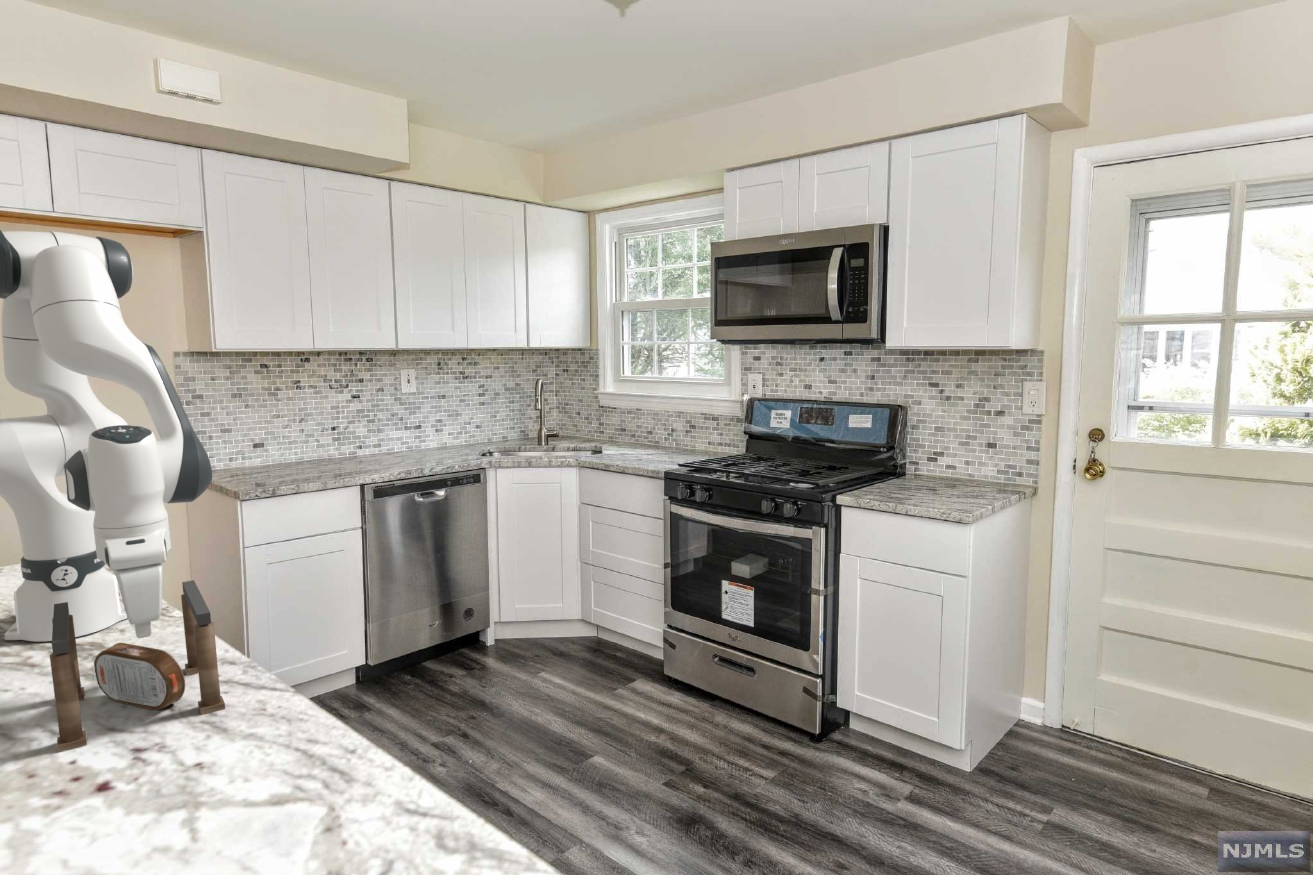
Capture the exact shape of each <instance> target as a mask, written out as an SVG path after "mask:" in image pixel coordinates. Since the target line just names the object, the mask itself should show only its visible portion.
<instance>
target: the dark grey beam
mask: <svg viewBox="0 0 1313 875" xmlns="http://www.w3.org/2000/svg"><path fill="white" fill-rule="evenodd" d="M181 583H182V584H181V585H182V592H183V593H182V594H184V595H185V597H186V600H187V602H188V604H189V606H190V609H191V611H192V613H193V616H194V618H195V620H196V622H197V625H198V626H200V625H205V624H210V623H211V622H212V618H211V617H212V616H211V611H210V609H209V608H208V605H207V603H206V601H205V599H204V597H203V594H202V593H201V591H200V590H199V588H198V585H197V583H196V582H195V580H192V579H191V580H186V581H182V582H181Z"/></svg>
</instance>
